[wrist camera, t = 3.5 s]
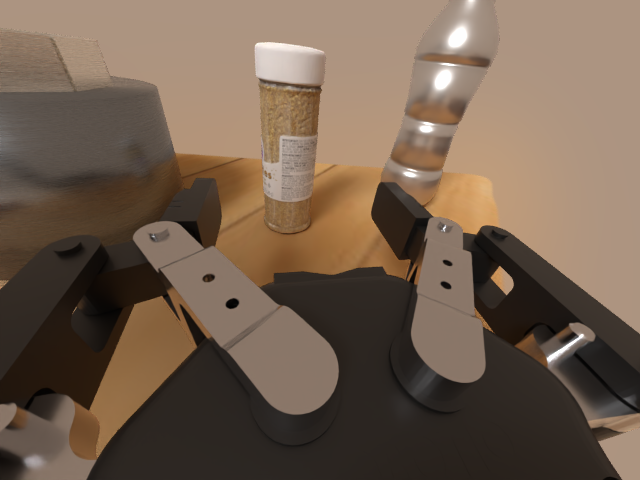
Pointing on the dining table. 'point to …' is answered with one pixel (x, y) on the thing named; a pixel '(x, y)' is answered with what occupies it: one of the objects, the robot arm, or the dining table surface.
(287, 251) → the dining table surface
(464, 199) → the dining table surface
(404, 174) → the plastic bottle
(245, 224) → the dining table surface
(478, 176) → the dining table surface
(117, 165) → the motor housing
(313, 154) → the spice jar
